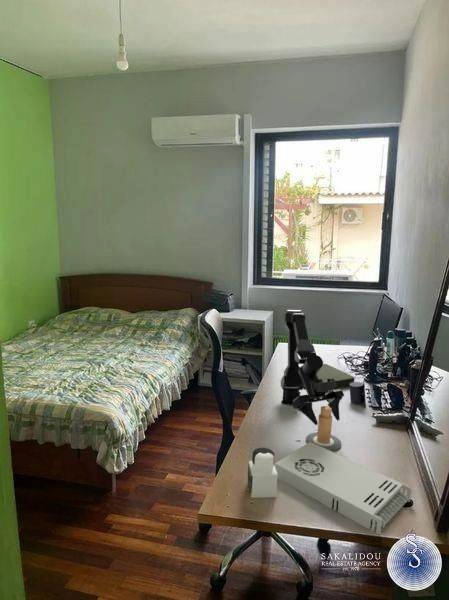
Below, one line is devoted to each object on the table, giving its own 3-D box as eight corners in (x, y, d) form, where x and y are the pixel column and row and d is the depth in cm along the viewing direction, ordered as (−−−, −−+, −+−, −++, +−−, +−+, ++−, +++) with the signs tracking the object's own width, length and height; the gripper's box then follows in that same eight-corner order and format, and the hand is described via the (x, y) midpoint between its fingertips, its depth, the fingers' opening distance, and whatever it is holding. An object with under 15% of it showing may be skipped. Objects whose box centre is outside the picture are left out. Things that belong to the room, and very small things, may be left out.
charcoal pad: (302, 446, 144) (302, 444, 144) (309, 431, 155) (310, 429, 155) (338, 455, 140) (338, 453, 140) (343, 438, 151) (343, 436, 150)
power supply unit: (379, 537, 104) (381, 519, 103) (273, 478, 127) (274, 463, 126) (409, 503, 117) (411, 487, 117) (309, 455, 140) (310, 441, 139)
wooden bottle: (315, 442, 146) (318, 409, 144) (318, 436, 150) (320, 404, 148) (328, 445, 144) (331, 412, 142) (331, 439, 148) (334, 407, 146)
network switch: (358, 385, 202) (359, 375, 201) (324, 395, 189) (325, 385, 188) (321, 370, 221) (322, 361, 220) (288, 378, 208) (288, 369, 207)
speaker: (370, 403, 181) (370, 380, 179) (365, 408, 177) (364, 384, 175) (353, 399, 186) (352, 377, 184) (348, 404, 181) (347, 381, 180)
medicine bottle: (247, 482, 123) (249, 444, 121) (271, 482, 124) (273, 444, 122) (250, 498, 116) (252, 458, 114) (276, 497, 117) (279, 458, 115)
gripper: (299, 373, 142) (316, 418, 135) (343, 367, 150) (362, 409, 142) (285, 387, 151) (300, 430, 143) (327, 380, 159) (344, 421, 151)
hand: (327, 422), depth 145 cm, fingers open, 9 cm apart
